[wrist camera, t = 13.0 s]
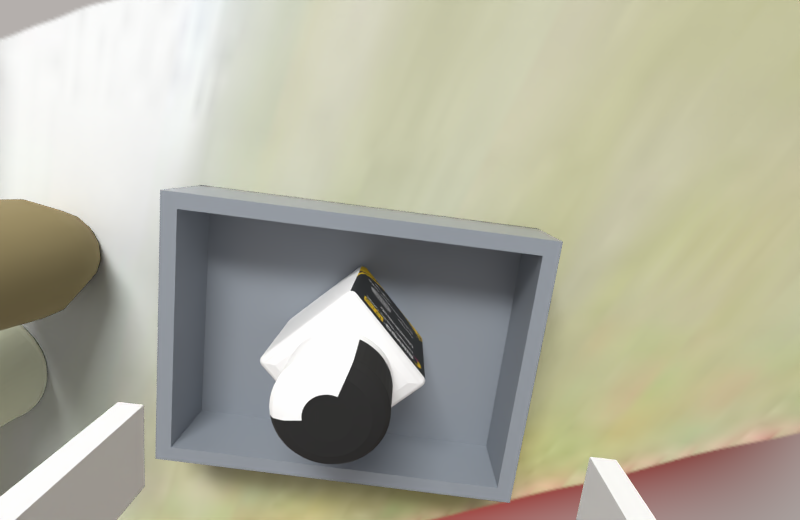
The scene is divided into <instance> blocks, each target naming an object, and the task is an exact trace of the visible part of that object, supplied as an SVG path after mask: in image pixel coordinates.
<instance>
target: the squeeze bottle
mask: <svg viewBox="0 0 800 520" xmlns="http://www.w3.org/2000/svg"><path fill="white" fill-rule="evenodd" d="M100 259H101V257H100V250H99V243H98V241H97V239H96V237H95V236H94V234H93V232H92V230H91V228H90V227H88V226H87V225H86V224H85V223H84V222H83V221H82V220H80V219H79V218H78V217H76V216H74V215H71V214H69V213H66V212H64V211H61V210H57V209H54V208H51V207H47V206H44V205H40V204H37V203H34V202H30V201H27V200H23V199H12V200H0V331H1V330H5V329H8V328H11V327H15V326H18V325H22V324H25V323H28V322H32V321H35V320H39V319H42V318H45V317H47V316H50V315H52V314H54V313H57V312H59V311H61V310H63V309H65V307H66V306H67V305H68V304H69V303H70V302H71V301H72V300H73V299H74V298H75V296H76V295H77V294H78V293H79V292H80V291H81V290H82V289H83V288H84V286H85V285H86V284H87V283H88V282H89V281H90V280H91V278H92V277H93V276H94V275H95V274H96V273H97V270H98V266H99V263H100Z"/></svg>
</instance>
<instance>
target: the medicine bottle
mask: <svg viewBox="0 0 800 520" xmlns="http://www.w3.org/2000/svg"><path fill="white" fill-rule="evenodd" d="M260 363H261V365H262V366H263V367H264V368H265V369H266V371H267V372H268V373H269V374H270V375H271V376H272V377H273V379H274V380H275V381H276V382H275V384H274V386H273V389H272V391H271V396H270V403H269V410H270V417H271V421H272V424H273V427H274V429H275V431H276V433H277V434H278V436H279V438H280V439H281V440H282V441H283V443H284V444H285V445H286V446H287V447H288V448H289V449H291V450H292V451H293V452H295V453H296V454H298V455H300V456H301V457H303V458H305V459H308V460H310V461H313V462H317V463H322V464H344V463H348V462H352V461H355V460H357V459H360V458H362V457H363V456H365V455H367V454H368V453H370V452H371V451H372V450H373V449H374V448H375V447H376V446H377V445H378V444H379V443H380V442H381V440H382V439H383V437H384V436H385V434H386V432H387V429H388V426H389V423H390V418H391V407H393V406H394V405H395V404H397V403H398V402H400V401H401V400H403V399H404V398H406V397H407V396H409V395H410V394H411V393H413V392H414V391H416V390H417V389H419V388H420V387H422V386H423V385H424V383H425V371H424V357H423V343H422V338H421V336H420V335H419V333H418V332H417V331H416V330H415V328H414V327H413V326H412V325H411V323H410V322H409V321H408V320H407V318H406V317H405V316H404V315H403V313H402V312H401V311H400V310H399V308H398V307H397V306H396V305H395V303H394V302H393V301H392V300H391V298H390V297H389V296H388V294H387V293H386V292H385V291H384V289H383V288H382V287H381V286H380V284H379V283H378V282H377V281H376V279H375V278H374V277H373V276H372V274H371V273H370V272H369V271H368V269H367V268H366V267H364V266H361V267H359V268H357V269H356V270H355V271H353V272H352V273H351V274H349V275H348V276H347V277H345V278H344V279H343V280H341V281H340V282H339V283H338V284H336V285H335V286H334V287H332V288H331V289H330V290H328V291H327V292H326V293H324V294H323V295H322V296H320V297H319V298H318V299H316V300H315V301H314V302H312V303H311V304H310V305H308V306H307V307H306V308H304V309H303V310H302V311H300V312H299V313H298V314H296V315H295V316H294V317H292V318H291V319H290V320H289V321H288V322H287V324H286V325H285V326H284V328H283V329H282V330H281V332H280V333H279V334H278V336H277V337H276V338H275V340H274V341H273V342H272V343H271V345H270V346H269V347H268V349H267V350H266V351H265V353H264V354H263V355H262V357H261V358H260Z"/></svg>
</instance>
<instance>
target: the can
mask: <svg viewBox="0 0 800 520" xmlns="http://www.w3.org/2000/svg"><path fill="white" fill-rule="evenodd" d="M46 383H47V367H46V362H45V358H44V355H43V353H42V351H41V349H40V347H39V345H38V344H37V342H36V341H35V339H34V338H33V337H32V336H31V334H30V333H29V332H28V331H27V330H26V329H25V328H23V327H22V326H21V325H18V326H15V327H11V328H8V329H5V330H1V331H0V427H2V426H3V425H5V424H6V423H8V422H10V421H11V420H13V419H15V418H18V417H20V416H22V415H24V414H26V413H27V412H29V411H30V410H31V409H32V408H34V407H35V405H36V404H37V403H38V402H39V400H40V399H41V397H42V395H43V393H44V391H45V388H46Z"/></svg>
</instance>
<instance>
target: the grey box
mask: <svg viewBox="0 0 800 520" xmlns="http://www.w3.org/2000/svg"><path fill="white" fill-rule="evenodd" d="M562 243H563V242H562V241H561V240H559V239H557V238H555V237H553V236H551V235H549V234H547V233H545V232H543V231H541V230H539V229H537V228H529V227H521V226H513V225H506V224H498V223H490V222H482V221H475V220H467V219H459V218H451V217H444V216H436V215H428V214H420V213H413V212H405V211H397V210H389V209H382V208H374V207H366V206H358V205H350V204H343V203H335V202H327V201H319V200H312V199H304V198H296V197H288V196H281V195H273V194H265V193H257V192H250V191H242V190H234V189H226V188H219V187H211V186H203V185H200V186H191V187H182V188H173V189H164V190H160V242H159V297H158V353H157V408H156V459H163V460H171V461H179V462H187V463H195V464H203V465H211V466H219V467H227V468H235V469H243V470H251V471H259V472H267V473H275V474H283V475H292V476H300V477H308V478H316V479H324V480H332V481H340V482H348V483H356V484H364V485H372V486H380V487H388V488H396V489H404V490H412V491H420V492H428V493H436V494H444V495H452V496H460V497H468V498H476V499H484V500H492V501H500V502H508V503H510V499H511V494H512V489H513V484H514V479H515V475H516V470H517V465H518V460H519V455H520V450H521V445H522V440H523V435H524V430H525V425H526V420H527V415H528V411H529V406H530V401H531V396H532V391H533V386H534V381H535V376H536V371H537V366H538V361H539V356H540V351H541V347H542V342H543V337H544V332H545V327H546V322H547V317H548V312H549V307H550V302H551V297H552V292H553V287H554V283H555V278H556V273H557V268H558V263H559V258H560V253H561V248H562ZM361 266H364V267H366V268H367V269H368V271H369V272H370V273H371V274H372V276H373V277H374V278H375V279H376V281H377V282H378V283H379V284H380V286H381V287H382V288H383V289H384V291H385V292H386V293H387V294H388V296H389V297H390V298H391V300H392V301H393V302H394V303H395V305H396V306H397V307H398V308H399V310H400V311H401V312H402V313H403V315H404V316H405V317H406V318H407V320H408V321H409V322H410V323H411V325H412V326H413V327H414V328H415V330H416V331H417V332H418V333H419V335H420V336H421V338H422V343H423V357H424V371H425V383H424V385H423V386H422V387H420V388H419V389H417V390H416V391H414V392H413V393H411V394H410V395H409V396H407V397H406V398H404V399H403V400H401V401H400V402H398V403H397V404H395V405H394V406H393V407H391V418H390V423H389V426H388V429H387V432H386V434H385V436H384V437H383V439H382V440H381V442H380V443H379V444H378V445H377V446H376V447H375V448H374V449H373V450H372V451H371V452H370V453H368V454H367V455H365V456H363V457H362V458H360V459H357V460H355V461H352V462H348V463H344V464H322V463H317V462H313V461H310V460H308V459H305V458H303V457H301V456H300V455H298V454H296V453H295V452H293V451H292V450H291V449H289V448H288V447H287V446H286V445H285V444H284V443H283V441H282V440H281V439H280V438H279V436H278V434H277V433H276V431H275V429H274V427H273V424H272V421H271V417H270V410H269V403H270V396H271V391H272V389H273V386H274V384H275V382H276V381H275V380H274V379H273V377H272V376H271V375H270V374H269V373H268V372H267V371H266V369H265V368H264V367H263V366H262V365H261V363H260V358H261V357H262V355H263V354H264V353H265V351H266V350H267V349H268V347H269V346H270V345H271V343H272V342H273V341H274V340H275V338H276V337H277V336H278V334H279V333H280V332H281V330H282V329H283V328H284V326H285V325H286V324H287V322H288V321H289V320H290V319H291V318H292V317H294V316H295V315H296V314H298V313H299V312H300V311H302V310H303V309H304V308H306V307H307V306H308V305H310V304H311V303H312V302H314V301H315V300H316V299H318V298H319V297H320V296H322V295H323V294H324V293H326V292H327V291H328V290H330V289H331V288H332V287H334V286H335V285H336V284H338V283H339V282H340V281H341V280H343V279H344V278H345V277H347V276H348V275H349V274H351V273H352V272H353V271H355V270H356V269H357V268H359V267H361Z"/></svg>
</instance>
